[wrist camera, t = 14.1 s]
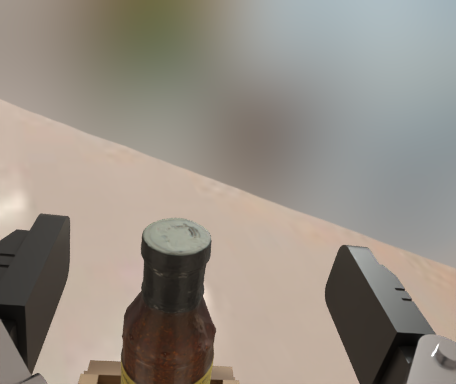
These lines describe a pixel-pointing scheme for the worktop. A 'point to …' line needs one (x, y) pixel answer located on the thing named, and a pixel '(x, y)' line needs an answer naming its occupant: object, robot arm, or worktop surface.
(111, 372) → the dock
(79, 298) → the worktop surface
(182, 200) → the worktop surface
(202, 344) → the sauce bottle
